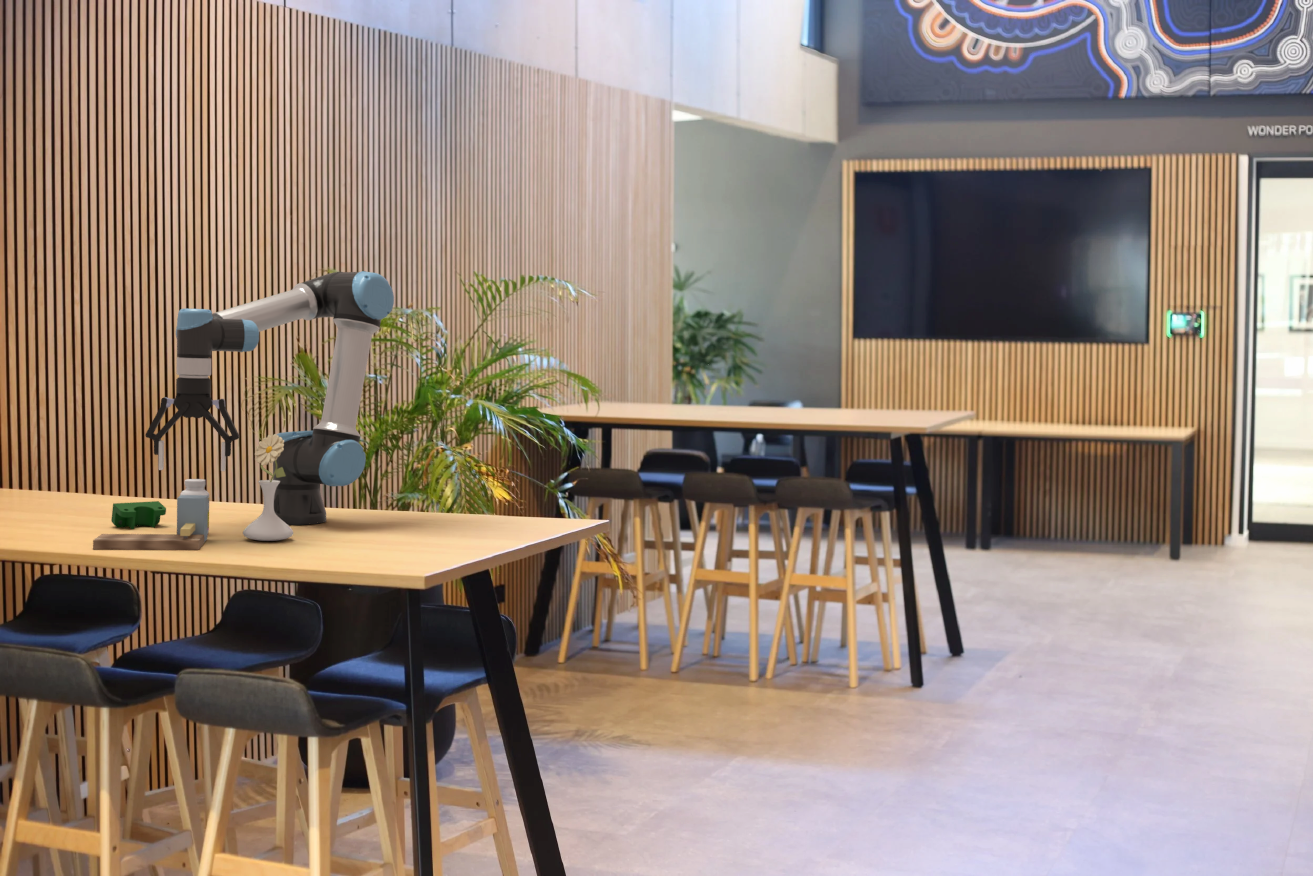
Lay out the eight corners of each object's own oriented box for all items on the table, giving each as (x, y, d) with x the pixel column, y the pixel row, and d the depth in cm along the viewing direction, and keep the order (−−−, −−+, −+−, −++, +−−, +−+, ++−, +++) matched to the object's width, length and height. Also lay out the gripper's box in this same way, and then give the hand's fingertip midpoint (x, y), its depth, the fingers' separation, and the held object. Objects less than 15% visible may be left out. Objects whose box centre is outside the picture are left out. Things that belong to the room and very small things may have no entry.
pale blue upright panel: (207, 538, 334) (207, 495, 333) (199, 548, 318) (199, 503, 318) (180, 538, 332) (180, 495, 332) (170, 548, 317) (171, 503, 316)
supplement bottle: (178, 536, 337) (179, 481, 336) (179, 532, 344) (180, 478, 343) (208, 536, 339) (209, 481, 338) (209, 532, 345) (210, 478, 344)
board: (204, 543, 327) (204, 534, 327) (198, 550, 318) (198, 540, 317) (101, 542, 323) (101, 533, 323) (93, 549, 313) (93, 539, 313)
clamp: (126, 547, 347) (115, 515, 342) (117, 537, 351) (106, 506, 346) (173, 525, 353) (162, 494, 348) (164, 517, 357) (153, 486, 352)
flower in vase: (235, 538, 337) (236, 431, 335) (281, 535, 344) (283, 430, 342) (256, 546, 326) (258, 435, 325) (304, 543, 333) (306, 434, 331)
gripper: (252, 378, 333) (250, 469, 335) (138, 374, 329) (137, 467, 330) (249, 379, 326) (247, 472, 327) (133, 375, 321) (131, 470, 323)
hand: (192, 470), depth 329 cm, fingers open, 13 cm apart
